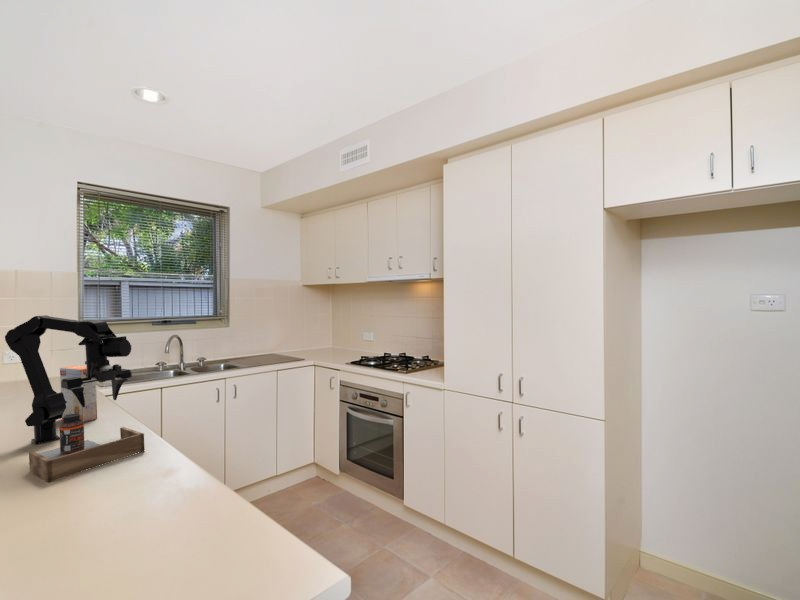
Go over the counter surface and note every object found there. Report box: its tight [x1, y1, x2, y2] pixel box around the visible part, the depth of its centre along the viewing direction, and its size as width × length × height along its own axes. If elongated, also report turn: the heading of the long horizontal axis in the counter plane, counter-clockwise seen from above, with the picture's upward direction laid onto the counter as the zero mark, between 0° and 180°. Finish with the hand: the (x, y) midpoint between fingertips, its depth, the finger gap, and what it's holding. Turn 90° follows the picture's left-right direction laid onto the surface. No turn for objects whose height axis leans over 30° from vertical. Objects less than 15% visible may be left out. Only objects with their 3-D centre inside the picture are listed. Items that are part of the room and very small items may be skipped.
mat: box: [37, 439, 101, 459], centre depth 129 cm, size 14×14×1 cm
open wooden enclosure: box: [28, 426, 145, 483], centre depth 122 cm, size 13×24×6 cm, turn 148°
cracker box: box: [59, 365, 98, 423], centre depth 164 cm, size 14×6×21 cm, turn 65°
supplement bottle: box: [59, 414, 85, 454], centre depth 129 cm, size 6×6×11 cm
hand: (99, 403), depth 140 cm, fingers open, 9 cm apart
